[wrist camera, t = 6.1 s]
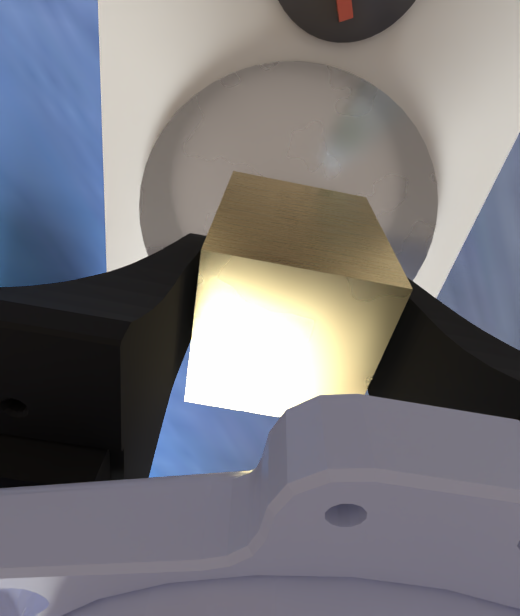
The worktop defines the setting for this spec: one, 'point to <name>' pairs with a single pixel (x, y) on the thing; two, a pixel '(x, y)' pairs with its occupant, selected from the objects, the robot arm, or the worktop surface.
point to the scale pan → (291, 153)
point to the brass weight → (291, 297)
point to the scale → (325, 50)
